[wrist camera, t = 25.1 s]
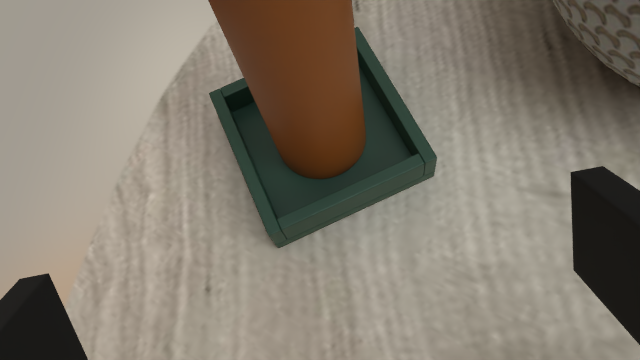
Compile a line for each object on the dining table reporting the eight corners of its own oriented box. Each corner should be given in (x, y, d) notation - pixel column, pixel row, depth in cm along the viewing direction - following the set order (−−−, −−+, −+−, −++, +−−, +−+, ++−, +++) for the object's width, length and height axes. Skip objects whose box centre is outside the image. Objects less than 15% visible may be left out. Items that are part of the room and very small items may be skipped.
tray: (278, 248, 25) (268, 236, 23) (221, 113, 28) (208, 92, 27) (434, 176, 26) (437, 157, 24) (360, 51, 29) (357, 26, 27)
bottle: (331, 196, 25) (238, -109, 10) (260, 150, 27) (85, -176, 12) (383, 126, 26) (368, -244, 11) (312, 86, 28) (214, -290, 13)
